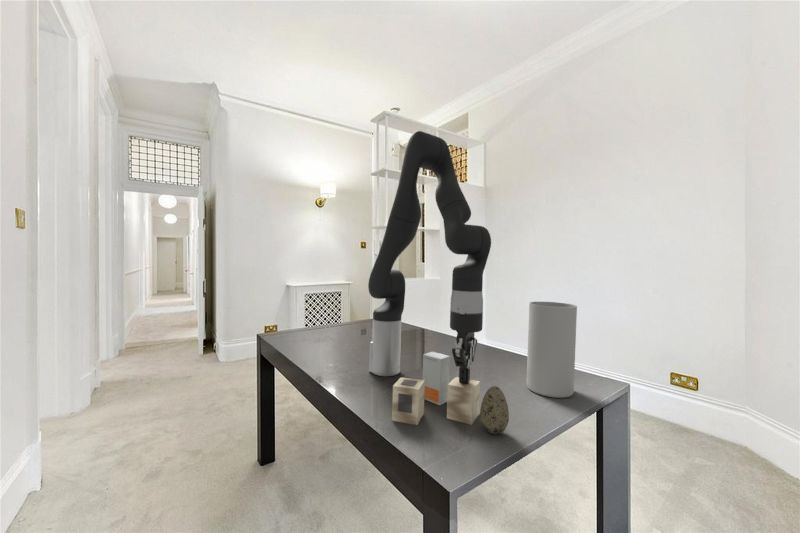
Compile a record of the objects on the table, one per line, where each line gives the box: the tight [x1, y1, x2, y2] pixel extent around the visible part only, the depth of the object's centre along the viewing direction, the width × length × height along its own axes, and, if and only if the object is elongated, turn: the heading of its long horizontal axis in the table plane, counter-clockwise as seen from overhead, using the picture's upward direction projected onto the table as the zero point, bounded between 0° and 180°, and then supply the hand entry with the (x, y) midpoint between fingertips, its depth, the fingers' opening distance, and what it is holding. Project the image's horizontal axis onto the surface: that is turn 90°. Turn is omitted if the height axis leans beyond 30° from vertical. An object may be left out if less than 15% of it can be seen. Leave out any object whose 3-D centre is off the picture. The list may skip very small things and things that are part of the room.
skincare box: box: [421, 351, 451, 406], centre depth 87 cm, size 6×4×12 cm
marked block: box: [391, 376, 425, 426], centre depth 77 cm, size 6×6×8 cm
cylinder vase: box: [526, 301, 578, 399], centre depth 96 cm, size 12×12×25 cm
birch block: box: [446, 376, 481, 426], centre depth 78 cm, size 6×6×8 cm
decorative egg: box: [479, 385, 510, 435], centre depth 71 cm, size 6×6×10 cm
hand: (464, 382), depth 78 cm, fingers closed
